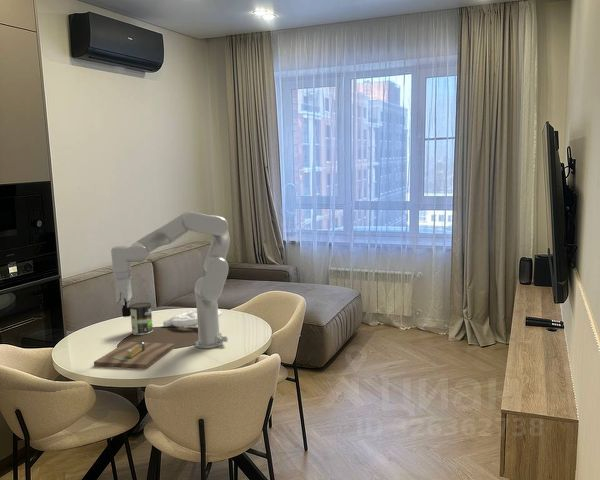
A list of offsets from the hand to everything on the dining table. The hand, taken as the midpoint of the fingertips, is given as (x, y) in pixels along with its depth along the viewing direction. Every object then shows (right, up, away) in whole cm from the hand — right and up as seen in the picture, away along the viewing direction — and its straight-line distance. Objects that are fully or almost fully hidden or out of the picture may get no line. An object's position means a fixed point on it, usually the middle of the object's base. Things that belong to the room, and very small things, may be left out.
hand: (126, 316), depth 229 cm
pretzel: (+20, -12, +49) cm, 54 cm away
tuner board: (+3, -18, +2) cm, 19 cm away
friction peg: (+4, -16, 0) cm, 17 cm away
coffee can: (-5, -14, +39) cm, 41 cm away
